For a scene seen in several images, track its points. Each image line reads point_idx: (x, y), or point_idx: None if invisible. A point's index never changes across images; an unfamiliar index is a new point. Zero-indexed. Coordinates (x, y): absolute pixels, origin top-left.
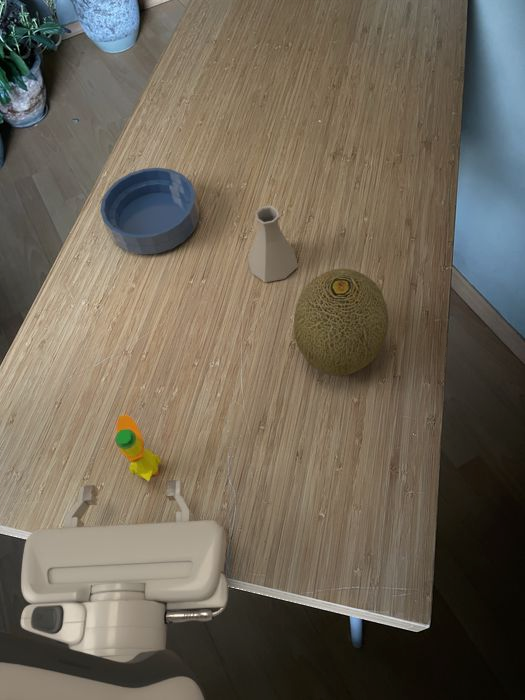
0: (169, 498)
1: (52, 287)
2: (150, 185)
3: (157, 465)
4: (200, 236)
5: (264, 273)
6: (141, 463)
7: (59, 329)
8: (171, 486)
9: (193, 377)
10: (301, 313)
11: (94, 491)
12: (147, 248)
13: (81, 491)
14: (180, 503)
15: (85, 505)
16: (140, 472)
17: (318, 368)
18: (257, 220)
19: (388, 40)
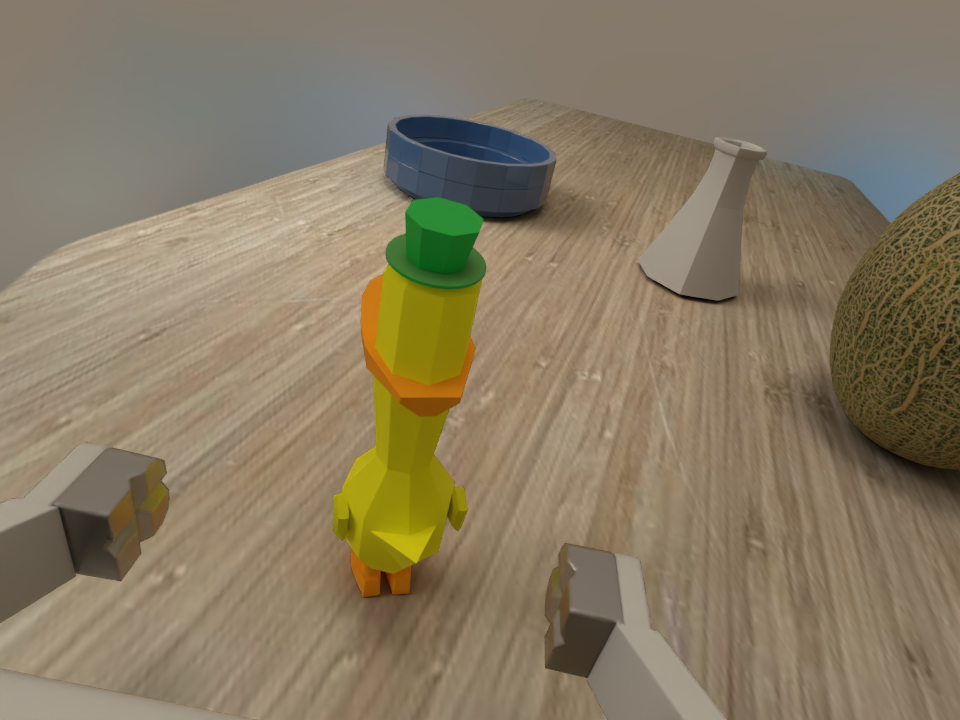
0: (564, 644)
1: (246, 192)
2: (471, 147)
3: (443, 530)
4: (544, 222)
5: (686, 274)
6: (407, 473)
7: (230, 235)
8: (595, 570)
9: (536, 384)
10: (950, 220)
11: (149, 494)
12: (456, 190)
13: (77, 462)
14: (669, 678)
15: (54, 552)
16: (383, 519)
17: (933, 411)
18: (723, 145)
19: (774, 172)
